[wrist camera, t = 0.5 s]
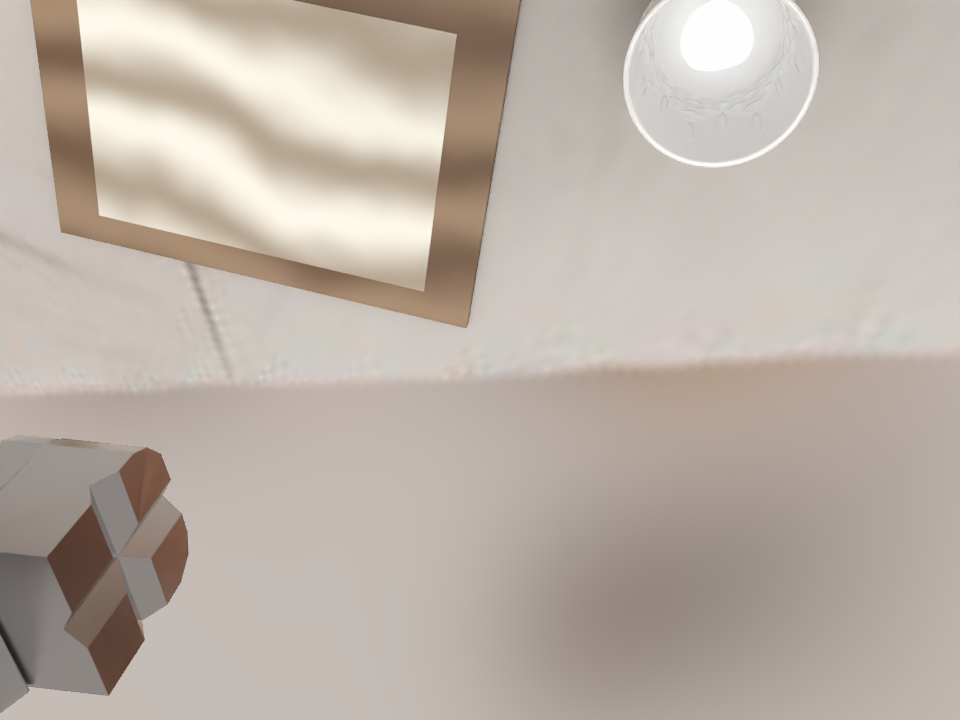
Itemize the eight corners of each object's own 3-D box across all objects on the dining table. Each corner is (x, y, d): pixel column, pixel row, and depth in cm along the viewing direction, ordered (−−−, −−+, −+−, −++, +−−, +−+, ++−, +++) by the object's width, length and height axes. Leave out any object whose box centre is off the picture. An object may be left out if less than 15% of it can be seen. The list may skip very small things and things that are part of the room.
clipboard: (19, -139, 49) (0, -136, 47) (526, -37, 46) (521, -32, 45) (66, 228, 61) (52, 238, 60) (467, 323, 59) (462, 336, 57)
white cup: (832, 15, 45) (861, 71, 36) (712, 129, 49) (713, 202, 41) (720, -101, 43) (723, -69, 35) (605, 28, 47) (584, 83, 39)
